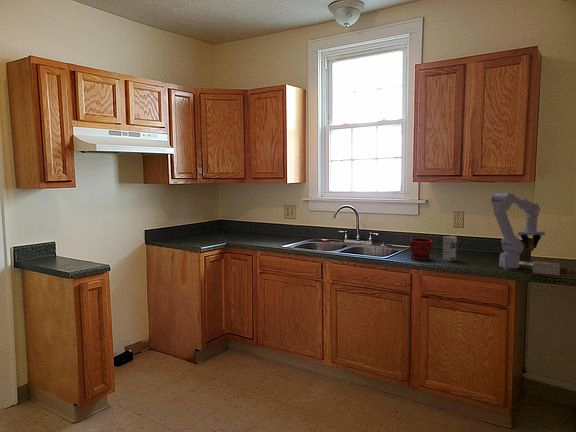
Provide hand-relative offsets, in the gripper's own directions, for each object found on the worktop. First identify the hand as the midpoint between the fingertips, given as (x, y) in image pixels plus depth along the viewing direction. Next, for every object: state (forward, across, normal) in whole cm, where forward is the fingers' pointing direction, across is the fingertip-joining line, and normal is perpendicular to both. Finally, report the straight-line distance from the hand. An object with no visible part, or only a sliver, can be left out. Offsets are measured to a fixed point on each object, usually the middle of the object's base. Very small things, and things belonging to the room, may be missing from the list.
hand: (530, 248), depth 249 cm
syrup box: (+10, -40, +15) cm, 44 cm away
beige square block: (+10, -1, +3) cm, 11 cm away
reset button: (+9, +2, -15) cm, 18 cm away
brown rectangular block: (+1, 0, 0) cm, 1 cm away
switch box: (+10, +2, -15) cm, 18 cm away
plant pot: (+10, -57, +18) cm, 60 cm away
